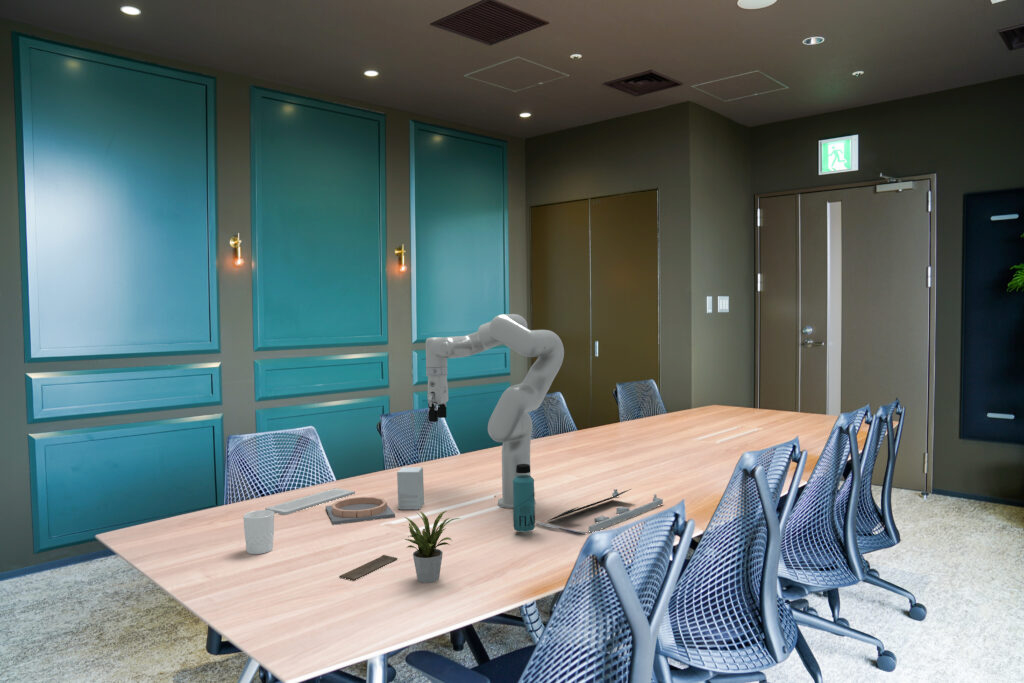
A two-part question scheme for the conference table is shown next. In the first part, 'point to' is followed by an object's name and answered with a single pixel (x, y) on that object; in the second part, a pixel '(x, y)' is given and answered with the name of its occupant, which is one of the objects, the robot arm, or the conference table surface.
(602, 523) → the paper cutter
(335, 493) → the plaque
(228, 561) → the conference table surface
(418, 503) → the supplement box
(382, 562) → the wooden plank
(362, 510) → the ring holder
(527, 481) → the beverage bottle
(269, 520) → the white cup
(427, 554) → the house plant
